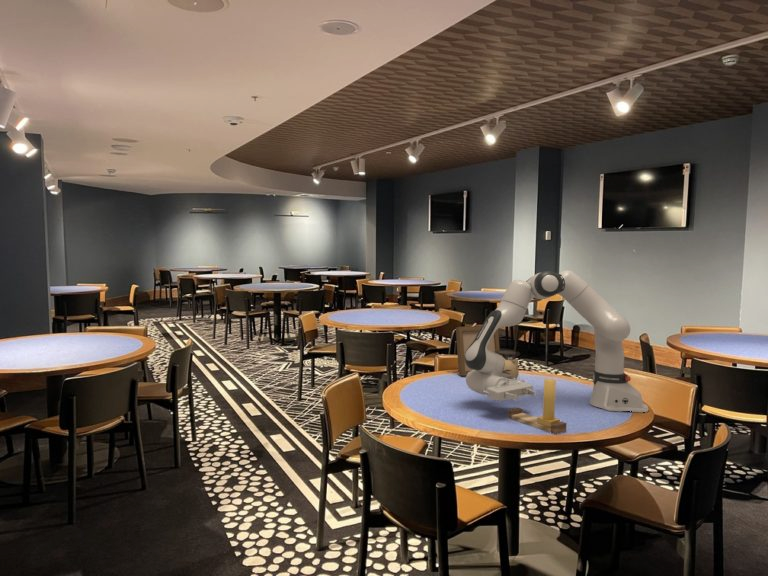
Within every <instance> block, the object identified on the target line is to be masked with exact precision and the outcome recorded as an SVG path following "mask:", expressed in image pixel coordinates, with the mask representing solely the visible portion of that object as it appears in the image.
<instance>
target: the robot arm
mask: <svg viewBox="0 0 768 576" xmlns="http://www.w3.org/2000/svg"><path fill="white" fill-rule="evenodd" d="M556 295H559V296H561V297H562V298H563V299H564V300H565V301H566V302H567V303H568V304H569V305H570V306H571V307H572V308H573V309H574V310H575V311H576V312H577V313H578V314H579V315H580V316H581V317H582V318H583V319H585V321H586V322H587V323H589V324H590V325H591V326H592V327H593V330H594V331H593V333H594V346H595V361H594V362H595V363H594V364H595V365H594V370H593V374H592V375H593V377H592V382H593V383H592V384H593V389H592V391H591V392H592V393H591V396H590V399H589V401H588V402H589V404H590V405H591V406H593V407H596V408H601V409H603V410H605V411H609V412H622V411H630V412H629V413H643V412H645V413H648V411H649V406H648V405H647V404H646V403H644V400H643V397H642V394H641V392H640V391H639V390H638V389H637V388H635V387H634V386H633V385H632V384H631V383H630V382H631V376H629V375H628V374H626V373H625V372H624V369H625V367H624V366H625V353H624V352H625V351H624V346H623V341H624V340H626V339H627V338H628V337H629V336H630V334H631V325H630V323H629V321H628V320H627V319H626V317H624V316H623V315H622V314H621V313H620V312H619V311H618V310H616V309H615V308H614V307H613V306H612V305H611V304H610V303H609V302H607V300H605V299H604V298H603V297H602V296H600V294H599V293H598V292H596V290H594V288H592V286H591V285H590V284H588V282H587V281H585V279H583V278H582V277H580V276H579V275H578V274H576V273H575V272H573V271H572V270H570V269H565V270H562V271H560V272H559V273H557V272H553V271H551V270H547V271H546V270H545V271H541V272H537V273H535V274H534V275H533V276H531V277H530V278H528V280H527V279H526V281H525V280H523V279H516V280H513V281H511V282H510V283H509V285H508V287H507V288H506V290H505V291H504V294H503V295H502V298H501V300H500V303H499V304H498V305H497V307H496V309H495V310H493V311H492V310H491V312H490V313H489V314H488V315H487V317H486V318H485V320H484V321H483V323H482V325H481V326H482V327H481V329H480V330H479V332H478V334H477V336H476V338H475V339H474V341H473V342H472V344H471V345H470V346H469V347H468V349H467V350H466V352H465V356H464V358H465V363H466V365H467V367H468V368H470V369H474V370H472V371H470V372H469V373H468V374H467V375H465V382H466V386H467V387H468V388H469V389H470V390H471V391H473V392H475V393H478V394H479V395H484V396H485V395H486V397H487V398H488V399H491V400H494V401H504V400H505V401H506V400H513V401H516V400H519V397H524V396H529V397H535V396H536V391H535V390H533V385H532V384H531V383H529V382H523V381H521V380H519V379H516V378H504V377H500V376H501V374H502V372H503V369H504V365H505V363H504V359H503V357H502V356H501V355H499V354H497V353H495V352H492V351H490V350H488V349H487V346H488V344H489V342H490V340H491V339H492V337H493V335H494V333H495V332H496V330H497V329H498V330H499V329H501V328H504V327H513V326H517V325H519V324H520V323H521V322H522V321H523V319H524V318H525V315H526V313H527V310H528V307H529V304H530V303H531V301H533V300H536V301H538V300H540V301H541V300H546V299H549V298H551V297H554V296H556ZM631 411H632V412H631Z"/></svg>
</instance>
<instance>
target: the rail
mask: <svg viewBox="0 0 768 576" xmlns="http://www.w3.org/2000/svg"><path fill="white" fill-rule="evenodd" d="M537 417H538V416H537ZM537 417H536V416H534V415H530V414H528V413H526V412H525V413H524V412H523V408H520V407H516V408H515V407H514V408H512V409H507V419H511V420H514V421H517V422H519V423H521V424H525V425H528V426H530V427H533V428H536V429H540V430H542V431H545V432H548V433H550V432H551V433H550V434H553V433H554V435H558V434H562V433H564V432H565V431H566V432H567V422H564V421H560V422H558V423H554V424H551V427H548V426H545V425H542V424H539V423H537ZM561 432H562V433H561ZM566 432H565V433H566ZM557 433H558V434H557Z"/></svg>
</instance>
